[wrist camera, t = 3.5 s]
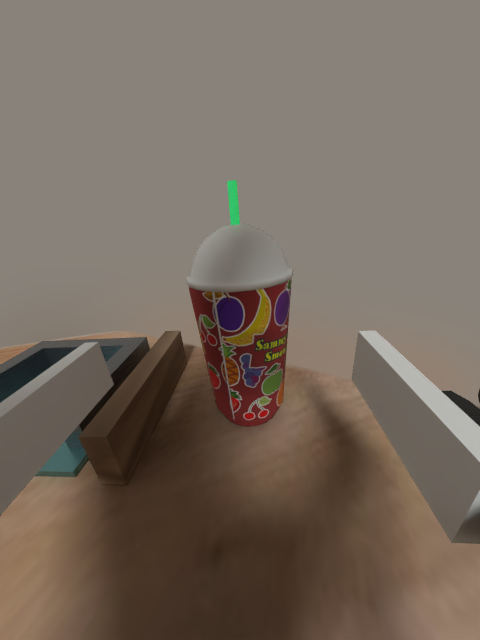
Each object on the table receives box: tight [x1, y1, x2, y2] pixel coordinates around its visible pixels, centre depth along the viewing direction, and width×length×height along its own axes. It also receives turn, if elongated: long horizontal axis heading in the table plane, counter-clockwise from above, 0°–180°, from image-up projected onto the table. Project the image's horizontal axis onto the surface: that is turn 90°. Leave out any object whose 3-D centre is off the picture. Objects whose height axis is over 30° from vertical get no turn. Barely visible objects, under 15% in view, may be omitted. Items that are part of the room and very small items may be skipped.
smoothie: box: [186, 180, 293, 427], centre depth 20 cm, size 8×8×20 cm
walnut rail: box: [78, 331, 187, 485], centre depth 24 cm, size 2×16×5 cm, turn 176°
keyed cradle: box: [0, 337, 150, 477], centre depth 25 cm, size 15×15×4 cm
